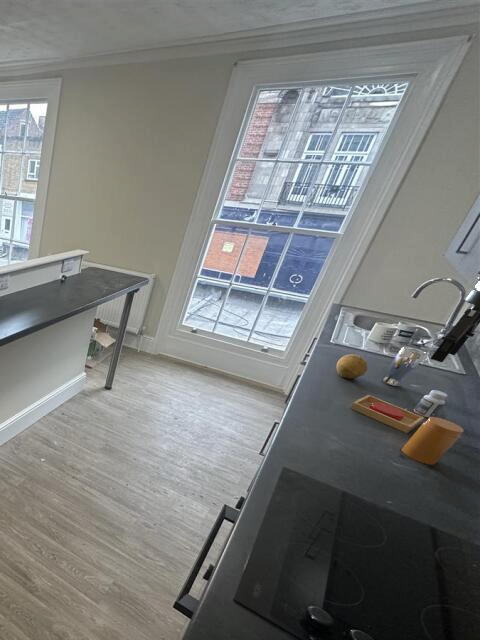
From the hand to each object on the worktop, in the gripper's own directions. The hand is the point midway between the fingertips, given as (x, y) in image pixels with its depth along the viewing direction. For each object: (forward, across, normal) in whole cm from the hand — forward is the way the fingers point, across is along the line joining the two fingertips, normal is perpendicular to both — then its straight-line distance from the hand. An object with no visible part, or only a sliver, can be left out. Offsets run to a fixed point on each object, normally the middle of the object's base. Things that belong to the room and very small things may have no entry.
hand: (442, 357), depth 128 cm
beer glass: (+23, -32, -11) cm, 41 cm away
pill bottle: (+23, -12, +4) cm, 26 cm away
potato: (+23, -19, -22) cm, 37 cm away
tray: (+23, +5, -2) cm, 24 cm away
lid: (+21, +5, -2) cm, 21 cm away
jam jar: (+23, +25, +12) cm, 36 cm away
